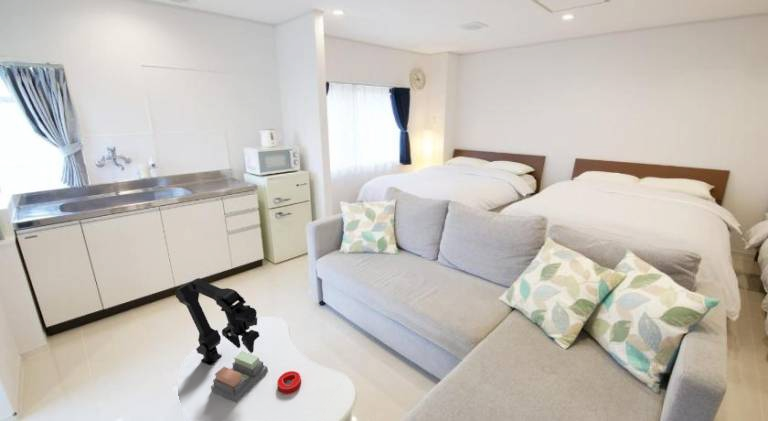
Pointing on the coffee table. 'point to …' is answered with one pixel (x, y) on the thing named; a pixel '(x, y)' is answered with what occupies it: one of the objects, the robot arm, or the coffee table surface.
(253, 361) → the sage button
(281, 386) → the decorative ornament
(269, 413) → the coffee table surface
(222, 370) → the orange brown block
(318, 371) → the coffee table surface
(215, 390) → the button panel
